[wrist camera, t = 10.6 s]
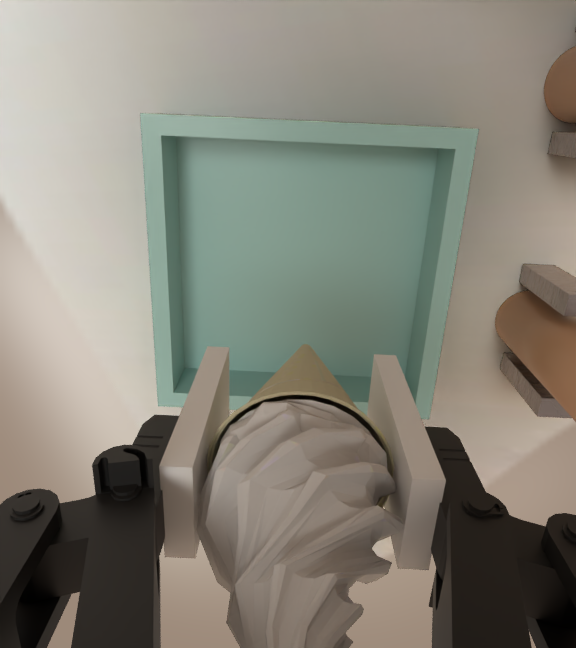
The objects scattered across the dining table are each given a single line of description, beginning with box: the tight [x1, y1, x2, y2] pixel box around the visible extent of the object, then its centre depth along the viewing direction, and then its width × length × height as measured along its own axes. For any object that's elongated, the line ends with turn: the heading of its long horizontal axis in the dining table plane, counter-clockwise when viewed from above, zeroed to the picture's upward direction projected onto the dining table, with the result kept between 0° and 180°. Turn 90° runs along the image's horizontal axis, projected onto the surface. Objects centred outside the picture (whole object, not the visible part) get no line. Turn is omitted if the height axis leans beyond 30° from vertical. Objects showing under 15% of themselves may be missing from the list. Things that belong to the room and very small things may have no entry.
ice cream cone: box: [196, 344, 404, 648], centre depth 14 cm, size 5×5×15 cm
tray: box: [140, 113, 479, 419], centre depth 31 cm, size 17×17×4 cm
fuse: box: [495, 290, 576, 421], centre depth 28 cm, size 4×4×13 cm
